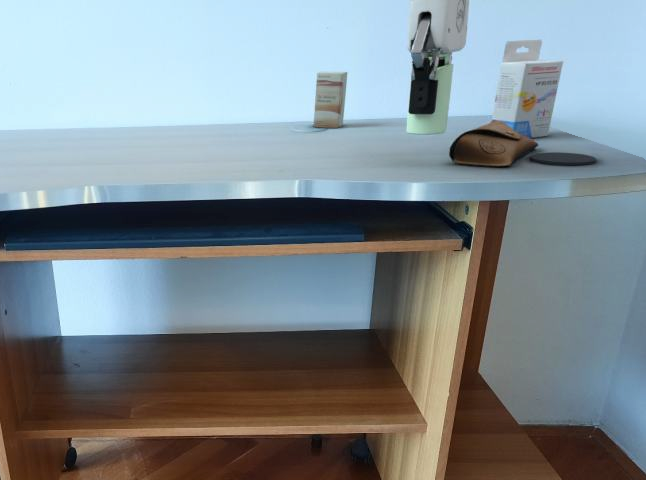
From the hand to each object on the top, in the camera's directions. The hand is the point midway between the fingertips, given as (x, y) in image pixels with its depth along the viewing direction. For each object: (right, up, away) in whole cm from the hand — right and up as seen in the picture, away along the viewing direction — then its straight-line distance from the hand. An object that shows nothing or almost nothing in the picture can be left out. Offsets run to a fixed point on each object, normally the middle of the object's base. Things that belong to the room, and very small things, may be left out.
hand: (428, 109), depth 84 cm
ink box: (+24, +4, +24) cm, 34 cm away
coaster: (+20, -5, +5) cm, 21 cm away
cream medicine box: (-3, +13, +44) cm, 46 cm away
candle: (0, -3, +1) cm, 3 cm away
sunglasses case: (+13, -3, +9) cm, 17 cm away
